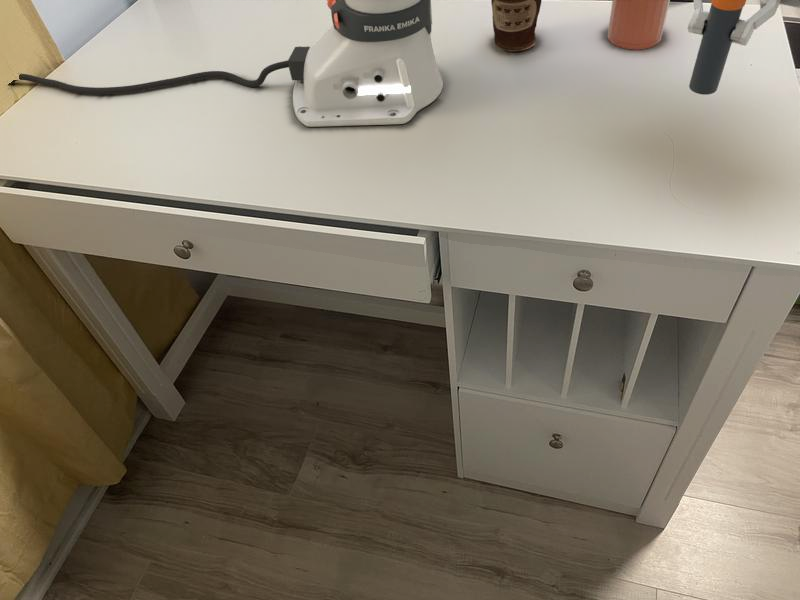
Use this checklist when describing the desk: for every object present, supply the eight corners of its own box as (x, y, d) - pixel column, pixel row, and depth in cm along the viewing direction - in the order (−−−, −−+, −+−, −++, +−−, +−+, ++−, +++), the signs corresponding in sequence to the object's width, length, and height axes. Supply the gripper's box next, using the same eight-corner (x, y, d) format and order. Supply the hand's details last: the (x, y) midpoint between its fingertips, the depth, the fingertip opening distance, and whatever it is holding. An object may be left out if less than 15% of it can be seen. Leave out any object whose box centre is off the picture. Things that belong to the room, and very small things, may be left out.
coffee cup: (540, 58, 101) (546, -29, 91) (485, 57, 103) (486, -29, 93) (543, 29, 107) (549, -56, 97) (491, 29, 108) (492, -55, 99)
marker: (694, 97, 69) (725, -9, 61) (683, 81, 71) (711, -23, 63) (723, 93, 69) (757, -13, 61) (711, 77, 71) (742, -28, 63)
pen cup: (617, 52, 100) (628, -14, 93) (600, 27, 106) (610, -38, 98) (669, 45, 100) (684, -22, 93) (650, 20, 106) (663, -46, 98)
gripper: (672, -142, 64) (611, 1, 67) (912, -111, 55) (829, 52, 58) (680, -106, 70) (623, 24, 73) (899, -74, 61) (824, 74, 63)
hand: (716, 37), depth 65 cm, fingers closed on marker, 3 cm apart
